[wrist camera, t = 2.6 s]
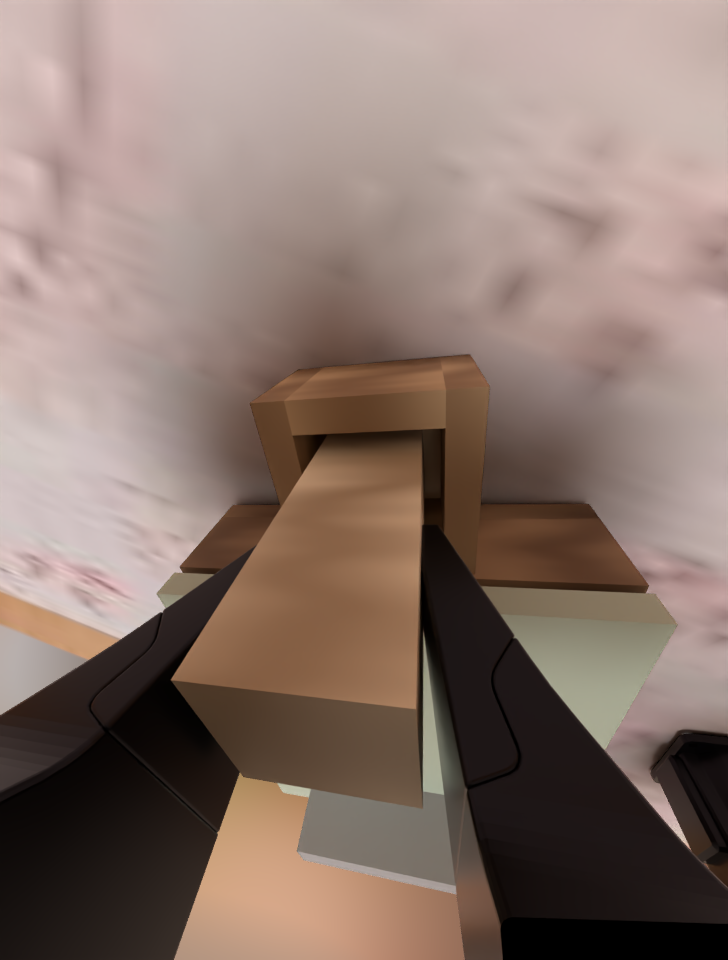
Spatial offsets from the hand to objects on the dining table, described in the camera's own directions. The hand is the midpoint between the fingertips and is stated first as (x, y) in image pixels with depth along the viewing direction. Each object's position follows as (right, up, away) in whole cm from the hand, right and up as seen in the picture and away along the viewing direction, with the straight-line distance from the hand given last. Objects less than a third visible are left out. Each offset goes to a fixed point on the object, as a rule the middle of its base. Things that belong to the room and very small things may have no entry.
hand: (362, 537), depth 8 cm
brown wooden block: (+1, +2, +4) cm, 4 cm away
